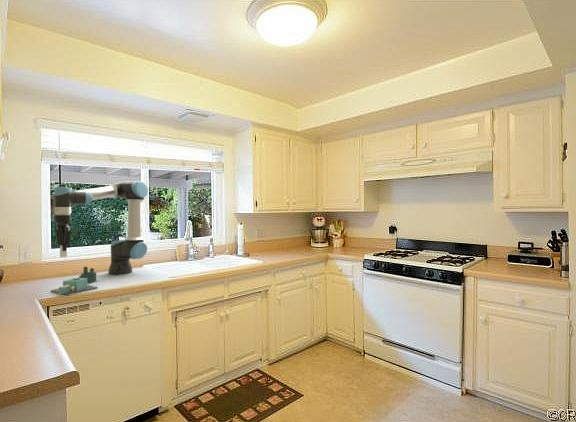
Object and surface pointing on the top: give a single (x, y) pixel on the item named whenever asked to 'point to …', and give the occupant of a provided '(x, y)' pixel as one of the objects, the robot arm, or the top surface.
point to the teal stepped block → (73, 284)
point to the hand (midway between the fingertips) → (63, 256)
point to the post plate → (75, 290)
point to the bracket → (89, 275)
